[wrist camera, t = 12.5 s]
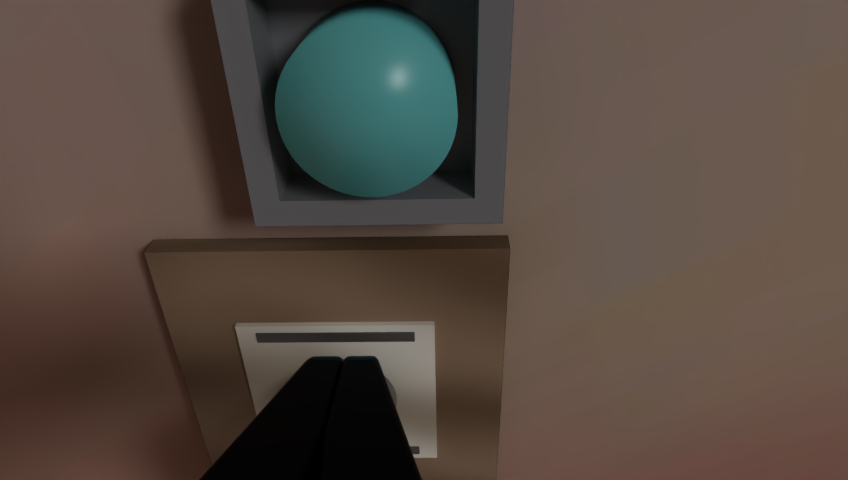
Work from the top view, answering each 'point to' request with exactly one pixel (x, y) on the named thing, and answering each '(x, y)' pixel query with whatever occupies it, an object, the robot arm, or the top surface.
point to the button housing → (322, 206)
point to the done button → (368, 100)
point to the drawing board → (345, 331)
